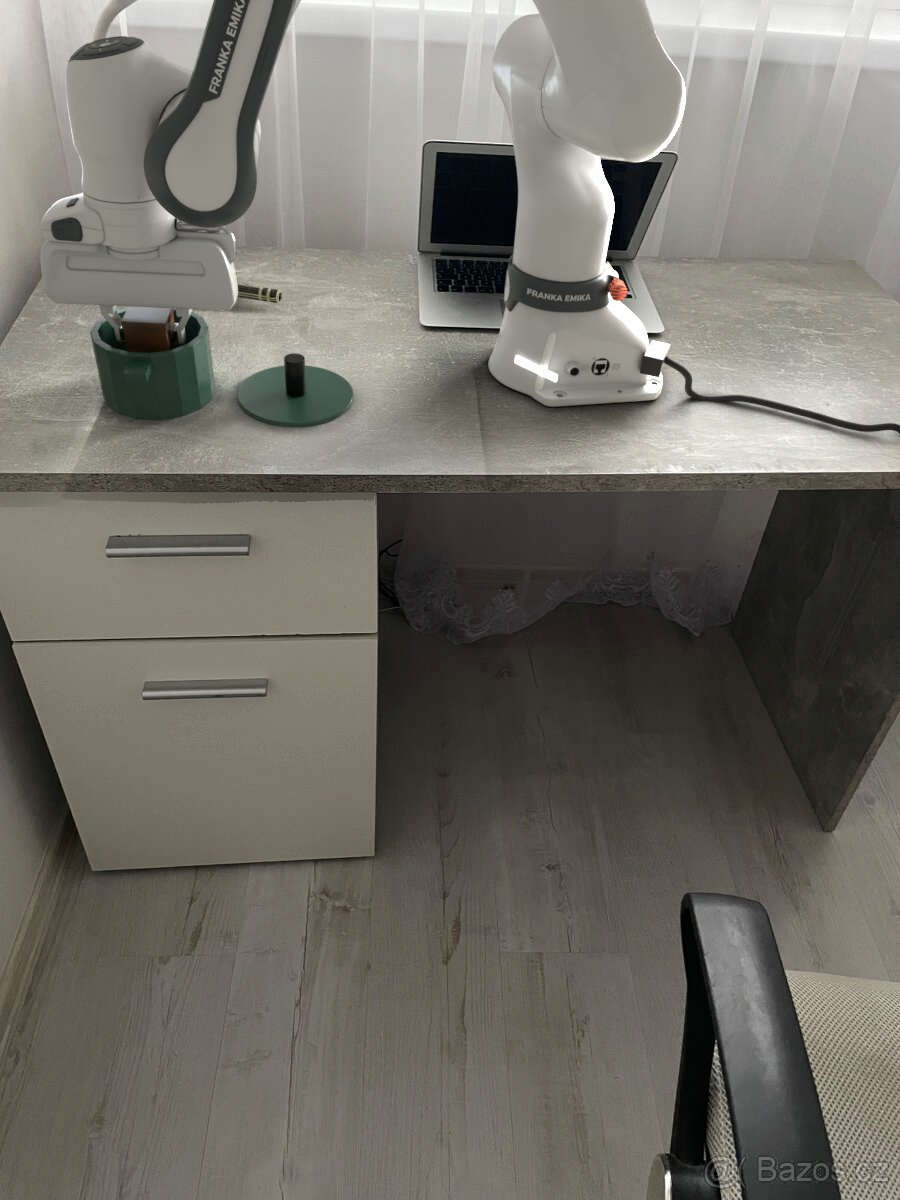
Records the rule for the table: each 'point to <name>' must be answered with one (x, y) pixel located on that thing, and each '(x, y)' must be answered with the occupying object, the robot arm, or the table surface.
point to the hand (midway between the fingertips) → (151, 340)
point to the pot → (155, 373)
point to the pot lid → (295, 394)
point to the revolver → (259, 293)
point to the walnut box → (148, 329)
